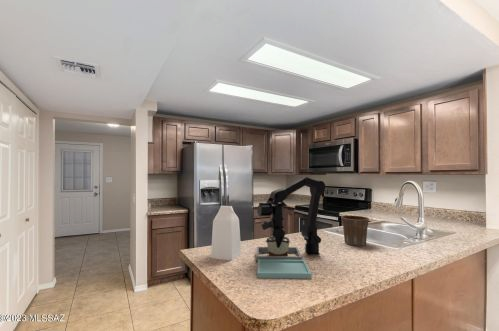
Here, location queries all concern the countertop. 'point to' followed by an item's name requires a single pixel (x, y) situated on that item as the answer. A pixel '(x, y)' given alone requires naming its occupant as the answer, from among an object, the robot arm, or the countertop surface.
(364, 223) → the plant pot
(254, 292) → the countertop surface
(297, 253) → the grey rectangular frame
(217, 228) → the milk
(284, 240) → the food container
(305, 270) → the tray
